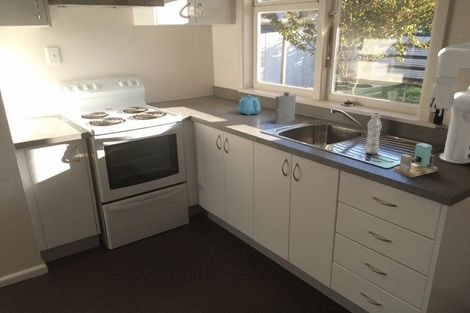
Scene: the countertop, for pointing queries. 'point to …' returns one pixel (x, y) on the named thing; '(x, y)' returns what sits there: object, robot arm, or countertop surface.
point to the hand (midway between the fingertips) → (437, 124)
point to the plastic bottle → (373, 134)
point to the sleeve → (423, 153)
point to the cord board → (414, 166)
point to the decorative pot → (249, 105)
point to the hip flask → (285, 108)
